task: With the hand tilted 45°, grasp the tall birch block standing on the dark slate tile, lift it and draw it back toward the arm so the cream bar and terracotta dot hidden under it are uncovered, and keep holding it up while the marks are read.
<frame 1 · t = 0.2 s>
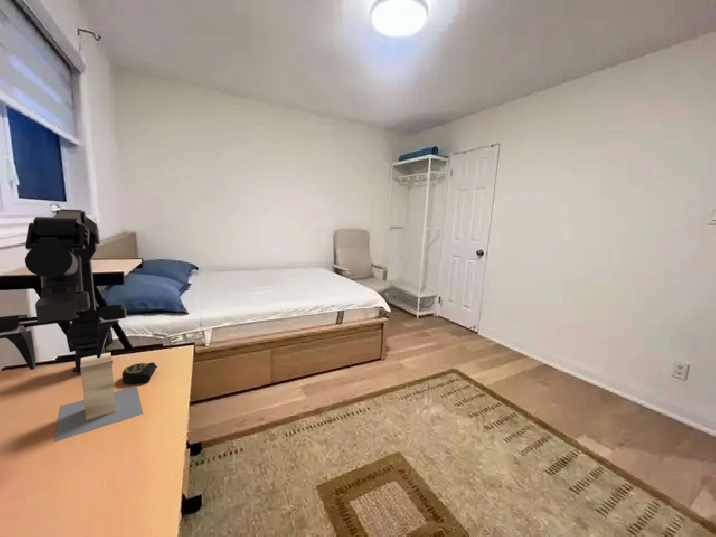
hand: (67, 363, 59), 16 cm above the table, fingers open, 9 cm apart
slate tile: (101, 412, 69), on the table
tape measure: (142, 380, 83), on the table
birch block: (101, 409, 69), point 1 cm above the table, touching slate tile
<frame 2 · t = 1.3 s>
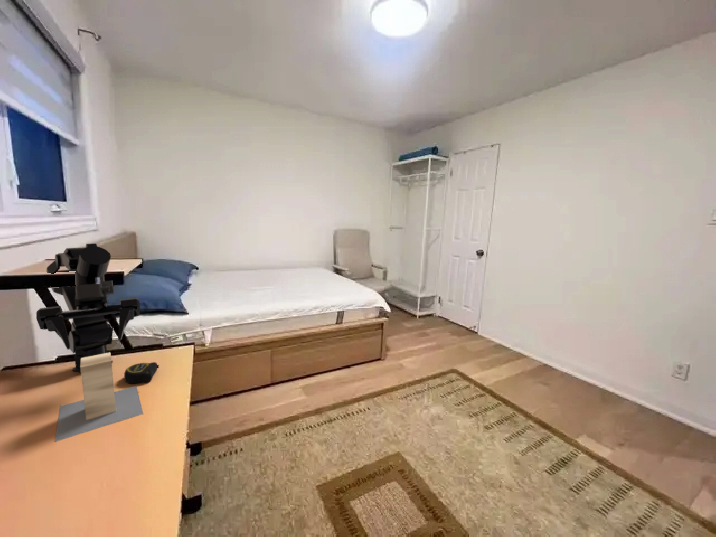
hand: (95, 344, 72), 13 cm above the table, fingers open, 9 cm apart
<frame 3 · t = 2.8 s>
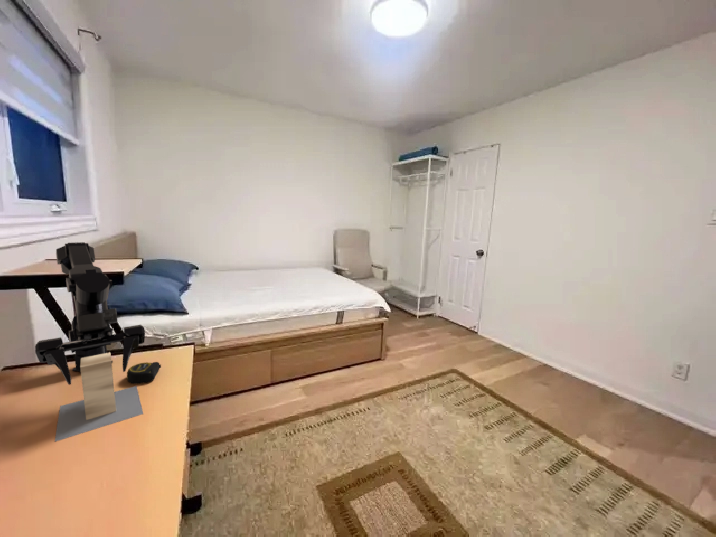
hand: (98, 377, 68), 8 cm above the table, fingers open, 9 cm apart
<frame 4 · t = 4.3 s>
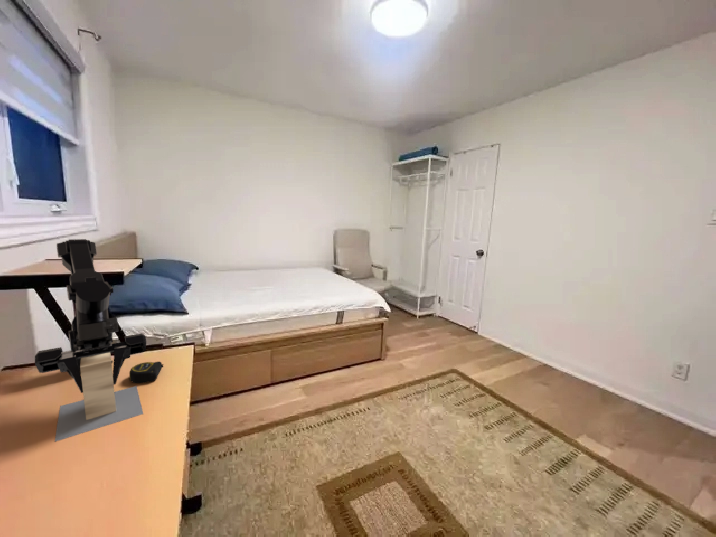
hand: (98, 387, 67), 7 cm above the table, fingers closed on birch block, 5 cm apart
birch block: (101, 409, 69), point 1 cm above the table, touching gripper, slate tile
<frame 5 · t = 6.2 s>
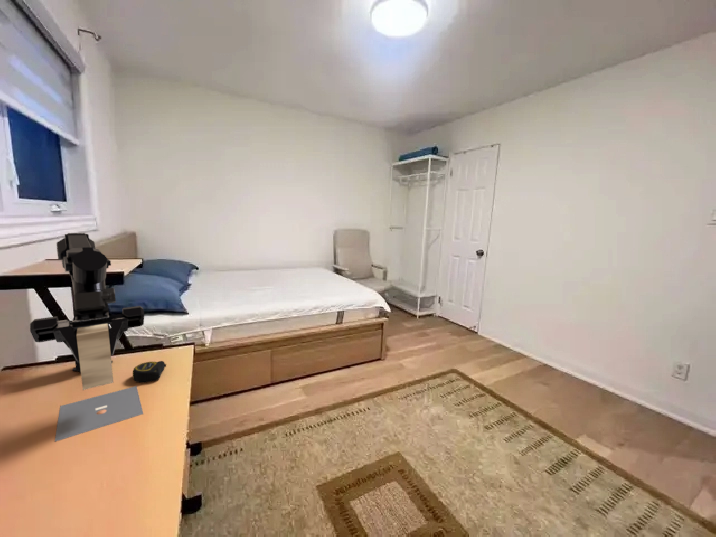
hand: (95, 358, 65), 13 cm above the table, fingers closed on birch block, 5 cm apart
birch block: (98, 381, 67), point 7 cm above the table, touching gripper
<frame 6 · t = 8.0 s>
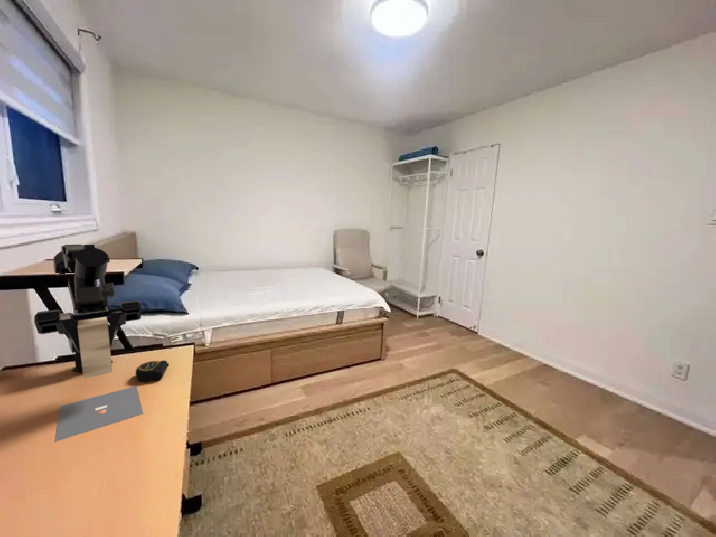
hand: (95, 348, 70), 13 cm above the table, fingers closed on birch block, 5 cm apart
birch block: (98, 370, 72), point 7 cm above the table, touching gripper
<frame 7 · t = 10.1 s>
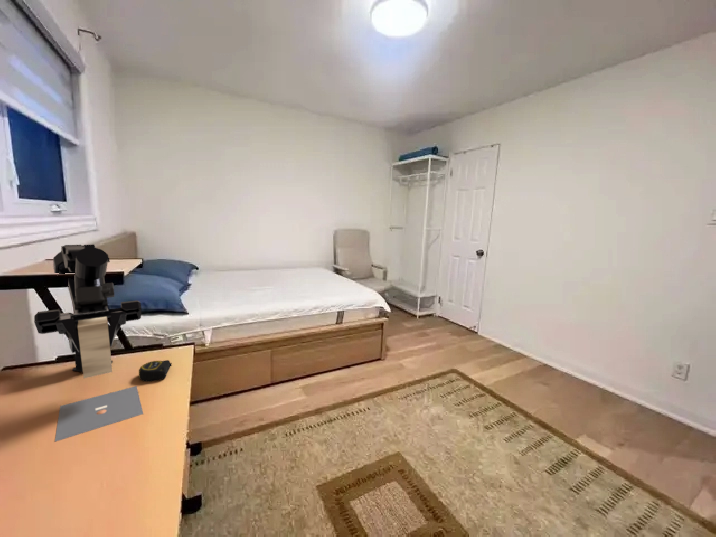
hand: (95, 348, 70), 13 cm above the table, fingers closed on birch block, 5 cm apart
birch block: (98, 370, 72), point 8 cm above the table, touching gripper
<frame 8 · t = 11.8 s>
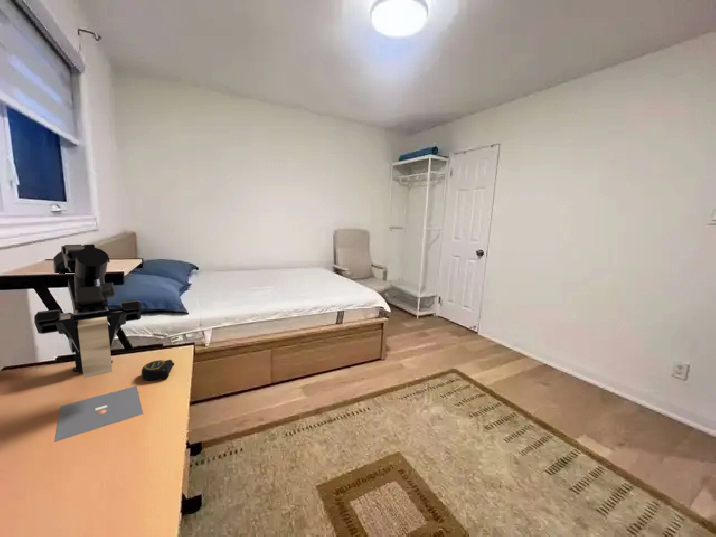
hand: (95, 348, 70), 13 cm above the table, fingers closed on birch block, 5 cm apart
birch block: (98, 370, 72), point 8 cm above the table, touching gripper
at the end: the gripper is holding birch block; birch block point 7.5 cm above the table; birch block touching gripper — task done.
